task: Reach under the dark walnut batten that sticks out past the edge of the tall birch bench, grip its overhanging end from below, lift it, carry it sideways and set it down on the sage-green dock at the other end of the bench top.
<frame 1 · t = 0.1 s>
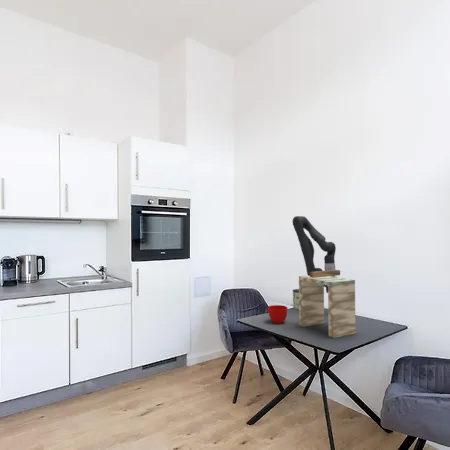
hand: (331, 292, 248), 17 cm above the table, tool pointing down, fingers open, 8 cm apart
coffee can: (299, 308, 274), on the table
bench: (326, 329, 216), on the table
batten: (325, 276, 226), point 32 cm above the table, touching bench
ceramic cup: (277, 321, 235), on the table
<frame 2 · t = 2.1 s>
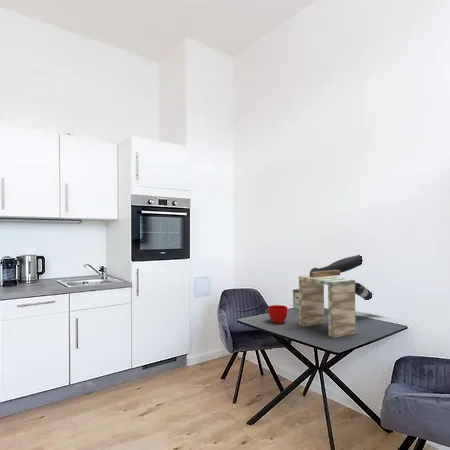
hand: (345, 280, 234), 28 cm above the table, tool pointing upward, fingers open, 8 cm apart
nothing on the table moved.
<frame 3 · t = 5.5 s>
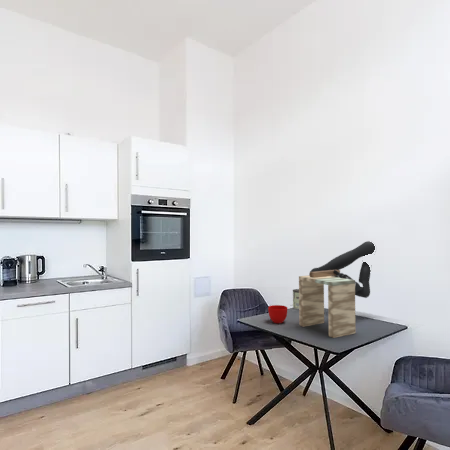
hand: (331, 270, 228), 35 cm above the table, tool pointing upward, fingers closed on batten, 4 cm apart
batten: (325, 276, 226), point 32 cm above the table, touching bench, gripper
everything else where it was.
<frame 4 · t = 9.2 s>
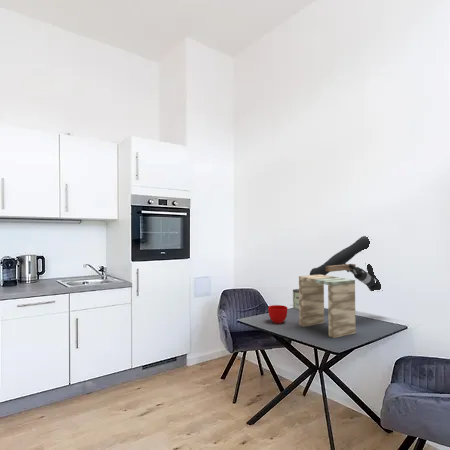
hand: (347, 265, 227), 39 cm above the table, tool pointing upward, fingers closed on batten, 4 cm apart
batten: (340, 270, 224), point 36 cm above the table, touching gripper
everything else where it was.
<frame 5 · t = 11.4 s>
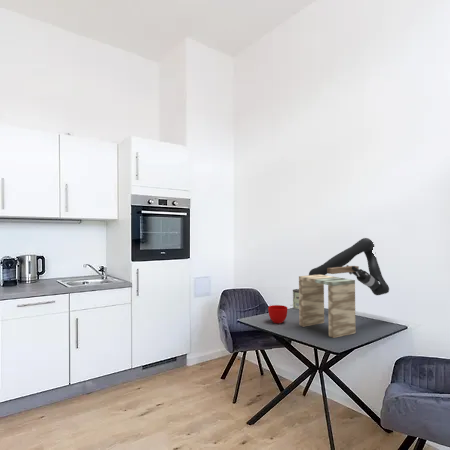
hand: (349, 266, 217), 39 cm above the table, tool pointing upward, fingers closed on batten, 4 cm apart
batten: (343, 272, 214), point 36 cm above the table, touching gripper
everything else where it was.
when the fingers open (36 cm above the table, at t = 13.0 s): batten stays where it is, resting on bench.
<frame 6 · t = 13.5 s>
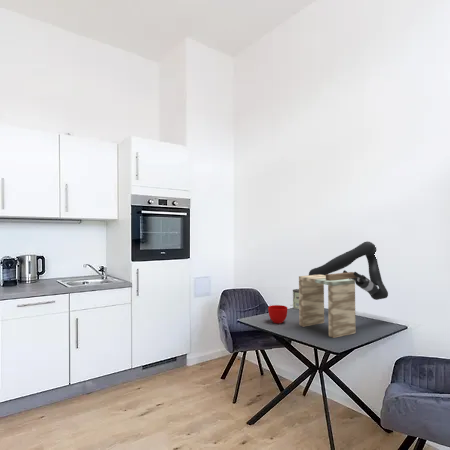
hand: (348, 272, 216), 36 cm above the table, tool pointing upward, fingers open, 8 cm apart
batten: (341, 278, 213), point 32 cm above the table, touching bench
everything else where it was.
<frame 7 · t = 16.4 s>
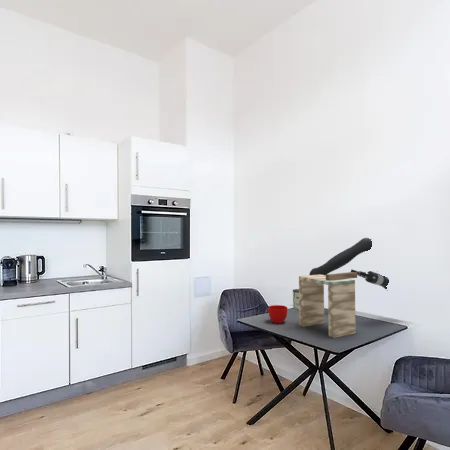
hand: (355, 272, 223), 35 cm above the table, tool pointing upward, fingers open, 8 cm apart
nothing on the table moved.
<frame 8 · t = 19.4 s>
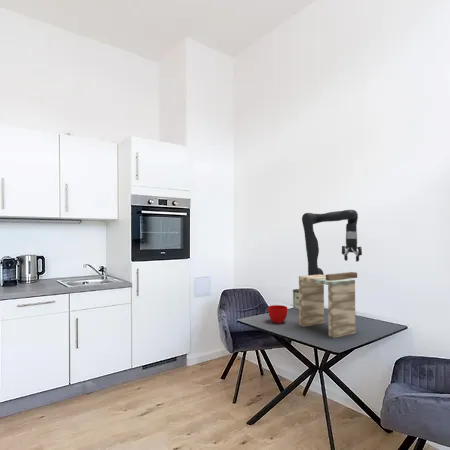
hand: (351, 261, 242), 40 cm above the table, tool pointing down, fingers open, 8 cm apart
nothing on the table moved.
at the end: batten inside the target area on the bench (0.0 cm from its centre), point 32.0 cm above the bench's base; the gripper is holding nothing; batten tilted 0° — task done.
